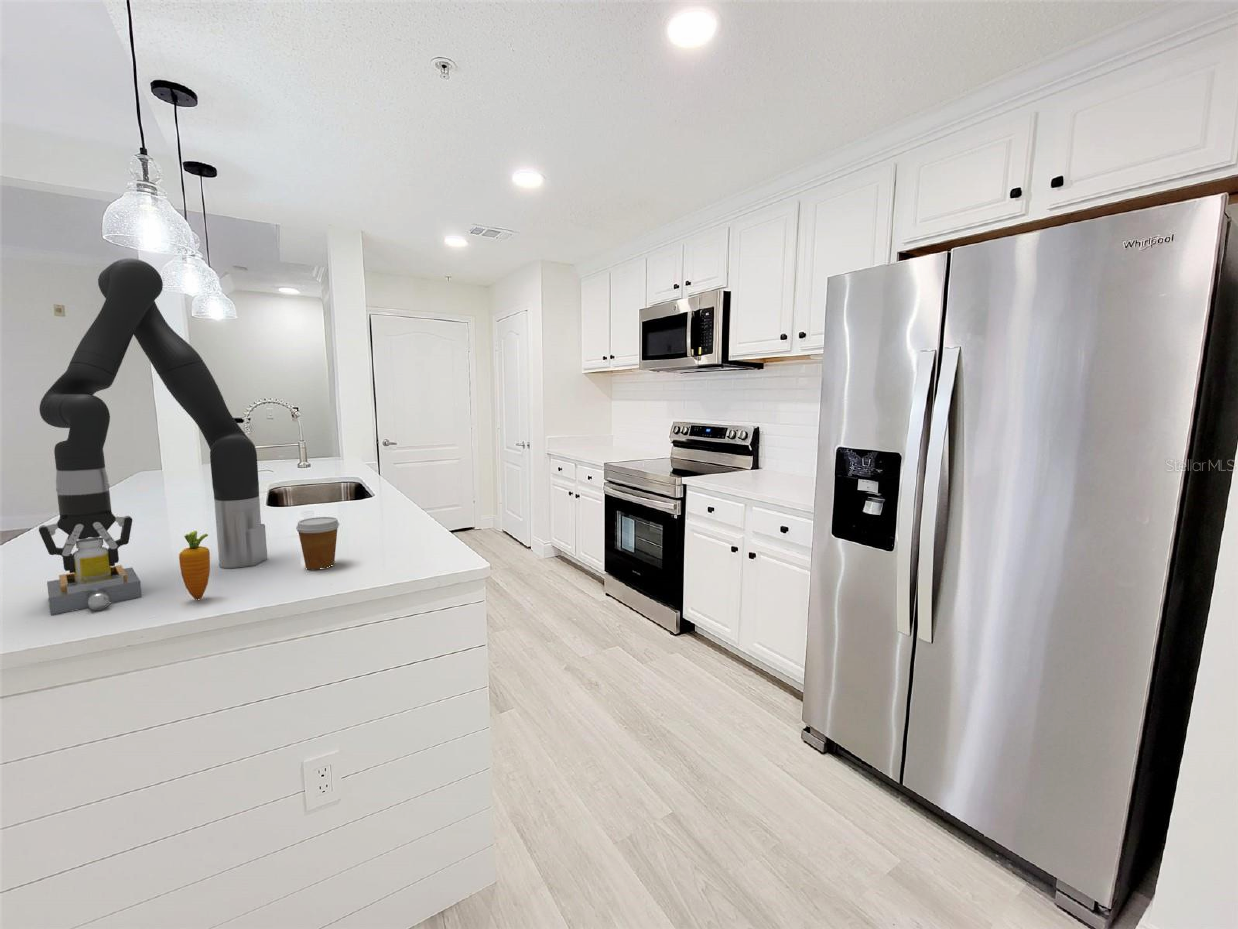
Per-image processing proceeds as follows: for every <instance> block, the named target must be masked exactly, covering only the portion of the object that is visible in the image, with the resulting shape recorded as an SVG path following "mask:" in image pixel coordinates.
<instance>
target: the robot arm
mask: <svg viewBox="0 0 1238 929" xmlns="http://www.w3.org/2000/svg"><path fill="white" fill-rule="evenodd" d="M97 283H98V288H99V290H100V292H101V294H102V295H103V297H104V299H105V300H104V303H103V304H102V306H101V309H100V311H99V313H98V314H97V316H96V318H95V319H94V321H93V322H92V323H91V325H90V326H89V328H88V329H87V331H86V332H85V333H84V335H83V337H81V340H80V342H79V343H78V345H77V347H76V349H75V351H74V353H73V356H72V357H71V359H70V362H69V363H68V367H67V368H66V370H65V372H64V373H63V374H61V376H60V377H59V378H58V379H57V380H56V381H55V382H54V383H53V384H52V385H51V386H50V388H49V389H48V390H47V391H46V392H45V393H44V395H43V397H42V398H41V401H40V403H39V414H40V417H41V419H42V420H43V421H44V422H45V423H46V424H47V425H50V426H51V427H54V428H59V429H69V430H68V435H67V436H68V437H67V439H66V440H63V441H62V440H61V441H59V442H57V443H56V444H55V445H54V450H53V451H54V454H53V455H54V461H55V462H54V463H55V470H56V471H55V472H56V474H55V475H56V476H55V485H56V486H55V491H56V495H57V503H58V505H57V506H58V512H59V513H58V514H59V519H58V520H57V522H56V523H51V524H48V525H40V526H39V527H38V532H39V535H40V537H41V539H42V541H43V543H44V546H45V548H46V550H47V553H48V554H49V555H50V556H54V555H56V556H61V557H62V561H63V562H62V563H63V569H64V571H65V572H67V571H69V574H70V573H74V563H73V553H72V552H73V550H74V547H75V546H76V542H77V541H78V540H81V539H86V538H96V537H101V538H103V542H105V543H106V545H107V546H108V548H107V549H108V550H109V558H110V567H112V566H116V564H118V563H119V561H120V558H119V551H118V550H119V548H120V547H121V546H124V545H128V544H129V542H130V537H131V531H132V526H133V518H132V516H130V515H125V516H116V515H114V513H113V512H112V503H111V496H110V495H111V493H110V483H109V476H108V474H107V471H106V462H105V455H104V446H105V443H106V440H107V435H108V430H109V426H110V420H111V415H110V410H109V407H108V406H107V404H106V403H105V401H104V400H103V399H101V398H100V397H98V396H95V395H94V394H96V393H97V392H100V391H104V390H108V389H109V388H110V387H111V386H112V385H113V383H114V381H115V379H116V377H117V375H118V373H119V369H120V367H121V365H122V363H123V360H124V358H125V356H126V354H127V350H128V348H129V346H130V343H131V341H132V339H133V336H134V337H135V339H136V341H137V342H138V344H139V346H140V348H141V350H142V351H143V353H144V354H145V356H146V357H147V358H148V360H149V362H150V363H151V365H152V367H153V368H154V370H155V372H156V373H157V375H158V376H159V378H160V380H161V381H162V382H163V384H164V386H165V388H166V389H167V390H168V391H169V393H170V394H171V396H172V397H173V399H174V400H175V401H176V402H177V403H178V404H179V406H180V407H181V408H182V409H183V410H184V412H186V414H187V415H188V416H190V417H191V419H192V420H193V421H194V422H195V424H196V425H197V426H198V428H199V430H200V432H201V434H202V435H203V437H204V440H205V441H206V443H207V445H208V448H209V450H210V452H209V459H210V461H209V462H210V472H211V483H212V484H211V486H212V490H213V498H214V512H215V525H216V527H215V528H216V539H217V540H216V541H217V552H218V563H219V564H218V565H219V567H220V568H225V569H236V568H243V567H252V566H253V567H254V566H256V565H258V564H260V563H262V562H263V561H266V560H267V559H268V549H267V548H268V547H267V533H266V525H265V524H264V523H262V519H261V503H260V502H261V501H260V500H261V499H260V486H259V485H260V482H259V468H258V467H259V466H258V454H257V448H256V446H255V444H254V442H253V441H252V440H251V439H250V438H249V437H248V436H247V435H246V433H245V432H244V431H243V429H242V428H241V427H240V425H239V424H238V422H237V421H236V420H235V418H234V417H233V415H232V413H231V412H230V410H229V409H228V407H227V404H226V401H225V400H224V396H223V395H222V392H221V390H220V388H219V385H218V384H217V382H216V379H214V377H213V375H212V373H211V371H210V369H209V368H208V366H207V364H206V363H205V361H204V360H203V358H202V357H201V356H200V354H199V353H198V352H197V350H195V349H194V347H192V345H191V344H189V343H188V342H187V341H186V340H184V338H183V337H181V336H180V335H179V334H178V333H177V332H175V330H173V328H172V327H171V326H170V325H169V324H168V322H167V321H166V319H165V318H164V316H163V315H162V312H161V311H160V309H159V307H158V305H157V304H156V299H157V298H158V297H159V296H160V295H161V293H162V291H163V289H164V288H163V286H164V284H163V279H162V277H161V275H160V273H159V271H158V270H157V269H156V268H155V267H153V265H151V264H150V263H148V262H146V261H144V260H141V259H137V258H129V257H128V258H122V259H119V260H117V261H114V262H112V263H111V264H109V266H107V267H106V268H104V269H103V270H102V271H101V272H100V273H99V275H98V279H97ZM114 523H117V524H118V526H119V527H121V532H120V537H119V538H118V539H116V540H114V538H113V537H112V536H111V534H110V533H109V532H108V531H109V529H110V528H111V527H112V526H113V525H114ZM58 529H60V530H61V531H62V532H64V533H65V534H67V535H68V536H67V538H66V540H65V542H64V545H63V547H57V545H56V542H55V541H54V539H53V537H52V536H54V535H56V530H58Z"/></svg>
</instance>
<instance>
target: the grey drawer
mask: <svg viewBox="0 0 1238 929" xmlns="http://www.w3.org/2000/svg"><path fill="white" fill-rule="evenodd" d="M110 568H111V576H108V577H102V578H97V579H91V580H85V581H79V582H75V576H74V573H70V572H69V573H65V574H58V579H54V580H49V581H46V586H47V593H48V595H47V596H48V604H49V611H50V612H49V614H50V616H54V615H58V614H59V613H60V614H63V613H68V611H70V612H73V611H72V610H75V611H77V610H76V609H80V610H83V609H84V610H85V609H88V608H89V609H91V610H93V611H102V610H105V609H106V608H107V607H108V606H109V605H110V604H111V603H110V602H114V603H118V602H117V601H119V602H123V601H122V600H124V601H126V600H125V599H129V600H133V598H134V599H137V598H136V597H139V598H142V597H143V596H142V595H143V594H142V585H141V580H140V578H139V577H138V575H137V573H136V571H135V569H134V568H133V567H126V568H124V567H123V565H121V564H120V565H115V566H110ZM141 596H142V597H141Z"/></svg>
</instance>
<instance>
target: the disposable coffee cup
mask: <svg viewBox="0 0 1238 929" xmlns="http://www.w3.org/2000/svg"><path fill="white" fill-rule="evenodd" d="M339 526H340V523H339V520H338V518H337V517H333V516H318V517H310V518H304V519H301V520H299V521H297V526H295V529H296V531H297V532H298V535H299V541H300V545H301V550H302V551H301V552H302V556H303V560H304V565H305V569H306V568H307V569H306V570H308V569H311V570H310V571H313V570H312V569H320V568H327V567H329V566H331V565H334V566H335V561H336V560H335V558H336V547H337V539H338V538H337V537H338V528H339ZM327 569H328V568H327Z"/></svg>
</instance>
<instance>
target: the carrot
mask: <svg viewBox="0 0 1238 929" xmlns="http://www.w3.org/2000/svg"><path fill="white" fill-rule="evenodd" d="M208 536H209V534H207V533H204V534H202V535H201V536H200V537H199V538H198V531H197V530H194V531H191V532H189V533H187V534H185V535H184V536H183V537H184V538H185V540H186V542H187V543H188V546H189V547H187V548H184V549H183V550H182V551H181V552H180V553H179V555H178V559H179V560H178V561H179V567H180V573H181V576H182V580H183V583H184V586H185V588H186V590H187V591H188V593H189V594H190V596H192V598H193V599H194V600H196V599H197V600H196V601H199V600H198V599H200V600H201V599H202V598H203V595H204V594H205V591H206V589H207V587H208V583H209V580H210V570H211V557H210V555H211V554H210V549H209V548H208V547H207V546H201V545H200V544H201V542H202V541H203V540H204V539H205V538H206V537H208Z"/></svg>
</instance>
